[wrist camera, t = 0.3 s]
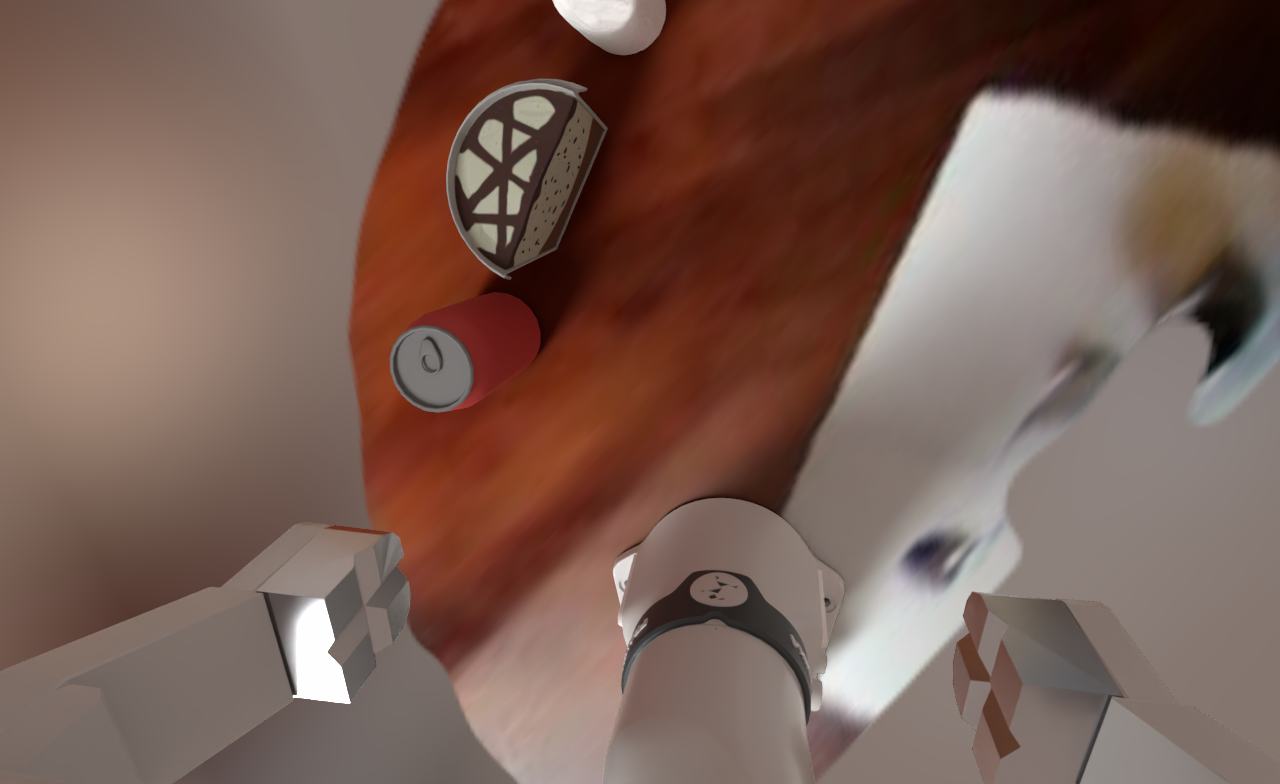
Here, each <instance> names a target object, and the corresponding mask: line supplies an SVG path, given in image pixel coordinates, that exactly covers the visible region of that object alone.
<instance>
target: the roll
mask: <svg viewBox="0 0 1280 784" xmlns="http://www.w3.org/2000/svg"><path fill="white" fill-rule="evenodd" d="M552 1H553V3H554V5H555V7H556V8H557V10H558V11H559V13H560V14H561V15H562V16H563V17H564V18H565V20H566V21H568V22H569V23H570V24H571V25H572V26H573V27H574V28H575V29H577V30H578V31H579V32H580V33H581V34H583V35H584V36H585V37H586V38H587V39H588V40H589V41H591V42H592V43H594V44H596V45H597V46H599V47H601V48H602V49H603V50H605V51H607V52H609V53H612V54H618V55H630V54H634V53H637V52H639V51H642V50H644V49H645V48H647V47H648V46H649V45H650V44H652V43H653V42H654V41H655V39H656V38H657V37H658V36H659V34H660V32H661V30H662V27H663V24H664V22H665V16H666V3H665V0H552Z"/></svg>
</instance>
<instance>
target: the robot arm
mask: <svg viewBox="0 0 1280 784" xmlns="http://www.w3.org/2000/svg"><path fill="white" fill-rule="evenodd" d="M403 556H404V555H403V551H402V547H401V542H400V538H399V537H398V536H396V535H395V534H393V533H392V532H384V531H376V530H368V529H360V528H352V527H344V526H336V525H334V526H331V525H325V524H316V523H307V522H305V523H301V524H296V525H294V526H292V527H291V528H290V529H289V530H288V531H287V532H285V533H284V534H283V535H282V536H281V537H280V538H278V539H277V540H276V541H275V542H274V543H273V544H271V545H270V546H269V547H268V548H267V549H265V550H264V551H263V552H262V553H261V554H260V555H258V556H257V557H256V558H255V559H254V560H252V561H251V562H250V563H249V564H248V565H247V566H245V567H244V568H243V569H242V570H241V571H239V572H238V573H237V574H236V575H235V576H234V577H232V578H231V579H230V580H229V581H228V582H227V583H225V584H224V585H223V586H222V587H221V588H216V587H209V588H206V589H204V590H202V591H199V592H196V593H194V594H191V595H189V596H187V597H184V598H182V599H179V600H176V601H174V602H171V603H169V604H166V605H164V606H161V607H159V608H157V609H154V610H152V611H149V612H146V613H144V614H141V615H139V616H136V617H134V618H132V619H129V620H126V621H124V622H122V623H119V624H116V625H114V626H111V627H109V628H107V629H104V630H101V631H99V632H96V633H94V634H91V635H89V636H87V637H84V638H81V639H79V640H76V641H74V642H71V643H69V644H67V645H64V646H62V647H59V648H57V649H54V650H52V651H49V652H47V653H44V654H42V655H39V656H37V657H34V658H32V659H29V660H27V661H24V662H22V663H19V664H17V665H14V666H12V667H9V668H7V669H4V670H2V671H1V672H0V784H172V783H174V782H175V781H176V780H178V779H179V778H181V777H183V776H184V775H185V774H186V773H188V772H190V771H191V770H193V769H194V768H196V767H197V766H199V765H200V764H201V763H203V762H204V761H206V760H207V759H209V758H210V757H211V756H213V755H215V754H216V753H218V752H219V751H220V750H222V749H223V748H225V747H226V746H228V745H229V744H231V743H232V742H234V741H235V740H237V739H238V738H239V737H241V736H242V735H244V734H245V733H247V732H248V731H250V730H251V729H253V728H254V727H255V726H257V725H258V724H260V723H261V722H263V721H264V720H266V719H267V718H269V717H270V716H272V715H273V714H275V713H276V712H277V711H279V710H280V709H282V708H283V707H285V706H286V705H287V704H289V703H291V702H292V701H293V700H294V698H293V697H299V698H309V699H316V700H325V701H334V702H342V703H351V701H352V700H353V698H354V697H355V696H356V694H357V693H358V691H359V690H360V689H361V687H362V686H363V684H364V683H365V682H366V680H367V679H368V677H369V676H370V675H371V673H372V672H373V670H374V669H375V668H376V660H375V653H376V652H378V651H380V650H382V649H384V648H385V647H387V646H389V645H391V644H392V643H393V642H394V641H395V639H396V638H397V636H398V635H399V633H400V632H401V630H402V629H403V626H404V624H405V621H406V618H407V615H408V612H409V608H410V589H409V583H408V580H407V578H406V577H405V576H404V575H403V574H402V573H401V572H400V570H399V569H398V568H397V565H398V564H399V562H400V561H401V559H402V558H403ZM613 576H614V580H615V584H616V589H617V593H618V597H619V601H620V605H621V606H620V610H619V615H618V624H619V625H620V626H622V628H623V634H624V638H625V642H626V645H627V650H626V654H625V658H624V663H623V674H622V684H621V687H622V695H623V696H622V700H621V703H620V707H619V710H618V714H617V717H616V721H615V725H614V728H613V732H612V735H611V739H610V742H609V746H608V749H607V753H606V756H605V760H604V765H603V784H815V779H814V774H813V768H812V762H811V756H810V750H809V743H808V736H807V728H806V726H807V724H808V721H809V716H810V711H818V710H819V708H820V704H821V699H822V682H821V681H819V679H816V677H817V674H818V673H821V674H824V673H825V670H826V665H827V656H826V655H825V654H824V653H825V650H826V647H827V644H828V641H829V638H830V635H831V632H832V629H833V626H834V623H835V620H836V617H837V614H838V611H839V608H840V605H841V603H842V600H843V596H844V582H843V580H842V578H841V577H840V576H839V575H838V574H837V573H836V572H835V571H833V570H832V569H831V568H829V567H828V566H826V565H825V564H823V563H822V562H820V561H819V560H817V559H816V558H815V557H814V556H813V554H812V553H811V552H810V550H809V549H808V547H807V546H806V544H805V542H804V541H803V539H802V538H801V537H800V535H799V534H798V533H797V532H796V531H795V529H794V528H793V527H792V526H791V525H790V524H788V523H787V522H786V521H785V520H784V519H782V518H781V517H780V516H778V515H777V514H775V513H774V512H772V511H770V510H768V509H766V508H764V507H762V506H759V505H757V504H754V503H751V502H748V501H743V500H738V499H731V498H711V499H704V500H699V501H695V502H692V503H689V504H686V505H684V506H681V507H679V508H677V509H676V510H674V511H672V512H671V513H669V514H668V515H667V516H665V517H664V518H663V519H662V520H661V521H660V522H659V523H658V524H657V525H656V526H655V527H654V528H653V530H652V531H651V532H650V534H649V535H648V536H647V538H646V539H645V540H644V541H643V542H642V543H641V544H640V545H638V546H636V547H634V548H632V549H630V550H628V551H626V552H624V553H623V554H621V555H620V556H619V557H618V558H617V559H616V560H615V563H614V567H613ZM626 580H627V581H626ZM824 598H828V599H829V601H827V602H825V601H824ZM963 617H964V620H965V622H966V625H967V627H968V630H969V632H970V633H969V634H967V635H966V636H965V637H963V638H962V639H961V640H959V641H958V642H957V644H956V649H955V655H954V660H953V686H954V692H955V697H956V702H957V705H958V708H959V711H960V714H961V718H962V719H963V720H964V721H965V722H967V723H968V724H969V725H970V726H971V727H972V728H973V729H974V730H975V731H976V735H975V739H974V744H973V747H972V750H973V753H974V756H975V759H976V762H977V765H978V768H979V771H980V773H981V776H982V779H983V782H984V784H1280V762H1279V761H1277V760H1275V759H1274V758H1272V757H1271V756H1269V755H1268V754H1266V753H1265V752H1263V751H1261V750H1260V749H1259V748H1257V747H1255V746H1254V745H1252V744H1251V743H1249V742H1248V741H1246V740H1245V739H1243V738H1242V737H1240V736H1239V735H1237V734H1236V733H1234V732H1233V731H1231V730H1229V729H1228V728H1226V727H1225V726H1223V725H1222V724H1220V723H1219V722H1217V721H1215V720H1214V719H1213V718H1211V717H1210V716H1208V715H1206V714H1205V713H1203V712H1202V711H1200V710H1199V709H1197V708H1196V707H1191V706H1183V705H1180V704H1179V703H1178V702H1177V700H1176V699H1175V698H1174V696H1173V695H1172V693H1171V692H1170V691H1169V689H1168V688H1167V687H1166V685H1165V684H1164V682H1163V681H1162V680H1161V678H1160V677H1159V676H1158V674H1157V673H1156V672H1155V670H1154V669H1153V667H1152V666H1151V665H1150V663H1149V662H1148V660H1147V659H1146V658H1145V656H1144V655H1143V654H1142V652H1141V651H1140V649H1139V648H1138V647H1137V645H1136V644H1135V643H1134V641H1133V640H1132V639H1131V638H1130V636H1129V635H1128V633H1127V632H1126V630H1125V629H1124V628H1123V626H1122V625H1121V624H1120V622H1119V621H1118V619H1117V618H1116V617H1115V615H1114V614H1113V612H1112V611H1111V610H1110V609H1109V608H1108V607H1107V606H1105V605H1104V604H1102V603H1100V602H1094V601H1082V600H1068V599H1055V600H1052V599H1042V598H1032V597H1021V596H1010V595H1001V594H990V593H980V592H972V593H971V595H970V596H969V598H968V600H967V602H966V606H965V610H964V614H963Z"/></svg>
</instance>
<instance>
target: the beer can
mask: <svg viewBox="0 0 1280 784" xmlns="http://www.w3.org/2000/svg"><path fill="white" fill-rule="evenodd" d="M540 340H541V332H540V328H539V324H538V321H537V318H536V317H535V315H534V314H533V312H532V310H531V309H530V308H529V307H528V306H527V305H526V304H525V303H524V302H523V301H522V300H520V299H519V298H517V297H514V296H512V295H510V294H508V293H499V292H493V293H489V294H484V295H481V296H478V297H475V298H472V299H469V300H466V301H463V302H460V303H457V304H454V305H451V306H448V307H445V308H442V309H439V310H436V311H433V312H430V313H427V314H425V315H423V316H422V317H420V318H419V319H417V320H416V321H414V322H413V323H412V324H411V325H410V326H409V327H408V328H407V329H406V331H405V332H404V333H403V334H401V335H400V336H399V338H398V339H397V341H396V342H395V343H394V345H393V348H392V351H391V355H390V372H391V375H392V378H393V381H394V384H395V385H396V387H397V388H398V390H399V391H400V393H401V394H402V396H403V397H405V398H406V399H407V400H408V401H409V402H410V403H411V404H413V405H414V406H416V407H419V408H421V409H423V410H425V411H431V412H438V413H439V412H444V411H451V410H457V409H462V408H467V407H470V406H472V405H473V404H475V403H477V402H478V401H480V400H482V399H483V398H485V397H486V396H487V395H489V394H490V393H492V392H493V391H494V390H496V389H497V388H499V387H500V386H501V385H503V384H504V383H506V382H507V381H508V380H510V379H511V378H513V377H514V376H516V375H517V374H518V373H520V372H521V371H523V370H524V369H525V368H527V367H528V366H529V365H530V364H531V363H532V361H533V360H534V359H535V358H536V356H537V353H538V350H539V348H540Z"/></svg>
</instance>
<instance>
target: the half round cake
mask: <svg viewBox="0 0 1280 784" xmlns="http://www.w3.org/2000/svg"><path fill="white" fill-rule="evenodd" d="M584 91H587V88H585V87H583V86H580V85H578V84H575V83H572V82H568V81H563V80H558V79H535V80H528V81H521V82H516V83H513V84H510V85H508V86H505V87H502V88H501V89H499V90H497V91H495V92H493V93H491V94H490V95H489V96H487V97H486V98H485V99H484V100H482V101H481V102H480V103H478V104H477V106H476V107H475V108H474V109H473V110H472V111H471V112H470V113H469V115H468V116H467V117H466V119H465V120H464V122H463V124H462V125H461V127H460V128H459V130H458V132H457V135H456V137H455V139H454V142H453V144H452V147H451V151H450V155H449V159H448V165H447V174H446V181H447V195H448V201H449V207H450V210H451V213H452V216H453V219H454V222H455V224H456V226H457V228H458V231H459V233H460V235H461V236H462V238H463V239H464V241H465V242H466V244H467V246H468V247H469V248H470V250H471V251H472V252H473V253H474V254H475V255H476V257H477V258H478V259H479V260H480V261H481V262H482V263H483V264H485V265H486V266H487V267H488V268H489V269H490V270H492V271H493V272H495V273H496V274H498V275H499V276H501V277H503V278H505V279H510V280H511V277H510V276H508V275H507V274H508V273H510V272H512V271H514V270H516V269H518V268H520V267H522V266H524V265H526V264H528V263H530V262H532V261H534V260H536V259H538V258H541V257H543V256H545V255H547V254H549V253H551V252H553V251H555V250H557V248H558V245H559V243H560V241H561V238H562V236H563V234H564V231H565V229H566V226H567V224H568V222H569V219H570V217H571V215H572V212H573V210H574V207H575V205H576V203H577V200H578V198H579V196H580V193H581V191H582V188H583V186H584V184H585V181H586V179H587V177H588V174H589V172H590V170H591V167H592V165H593V162H594V160H595V158H596V155H597V153H598V151H599V148H600V146H601V143H602V141H603V139H604V136H605V134H606V132H607V129H608V128H607V127H606V125H605V124H604V123H603V122H602V121H601V120H600V119H599V118H598V116H597V115H596V114H595V113H594V112H593V111H592V110H591V108H590V107H589V106H588V105H587V104H586V103H585V102H584V100H583V99H582V98H581V97H580V96H579V95H578V94H579V92H584Z"/></svg>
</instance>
